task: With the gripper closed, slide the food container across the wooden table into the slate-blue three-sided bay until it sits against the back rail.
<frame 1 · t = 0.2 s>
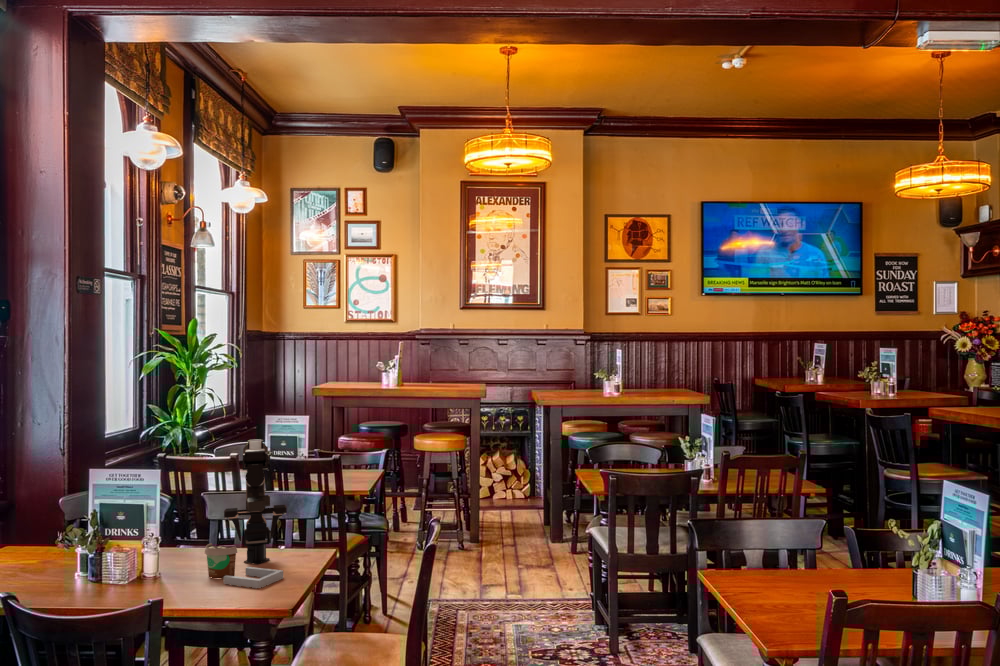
hand: (255, 539, 249), 15 cm above the table, tool pointing down, fingers open, 9 cm apart
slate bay: (251, 581, 258), on the table
food container: (217, 577, 263), on the table
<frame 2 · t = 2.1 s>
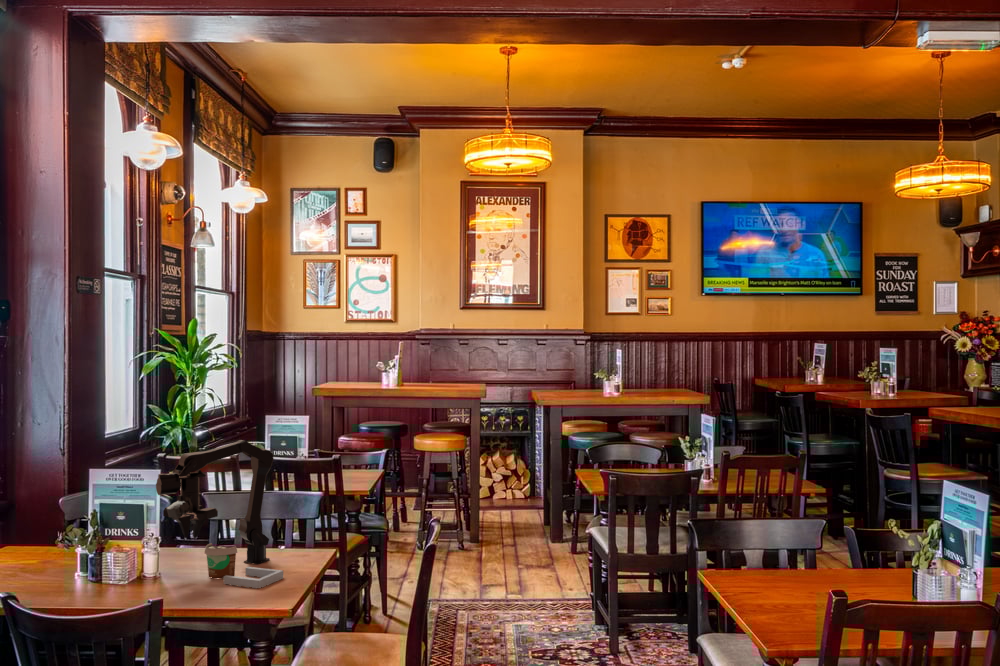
hand: (190, 538, 267), 12 cm above the table, tool pointing down, fingers open, 4 cm apart
nothing on the table moved.
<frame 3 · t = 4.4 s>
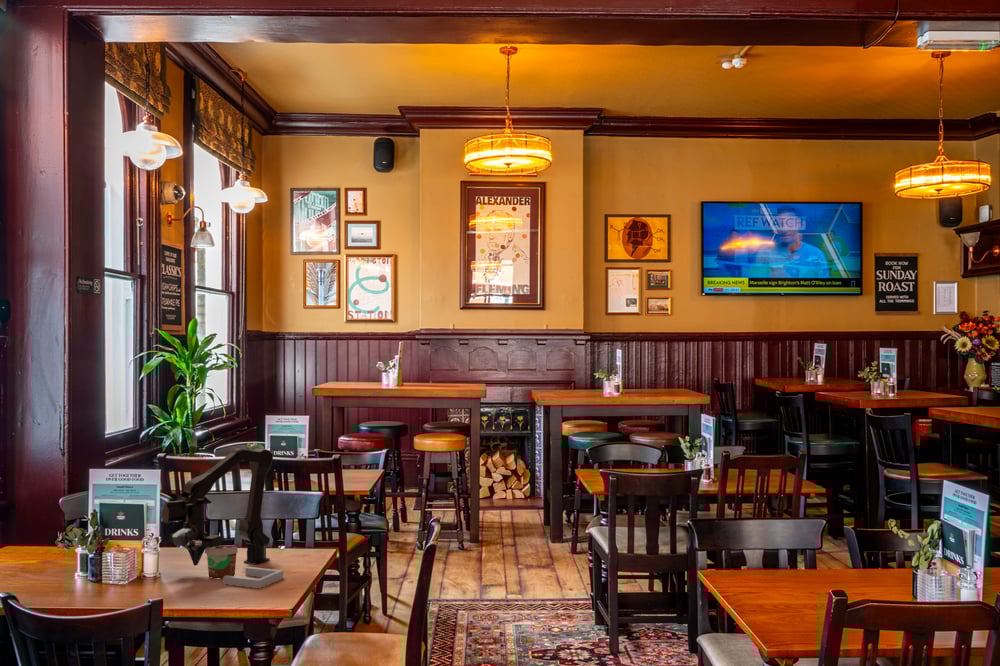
hand: (195, 565, 266), 3 cm above the table, tool pointing down, fingers closed
food container: (217, 577, 263), on the table, touching gripper
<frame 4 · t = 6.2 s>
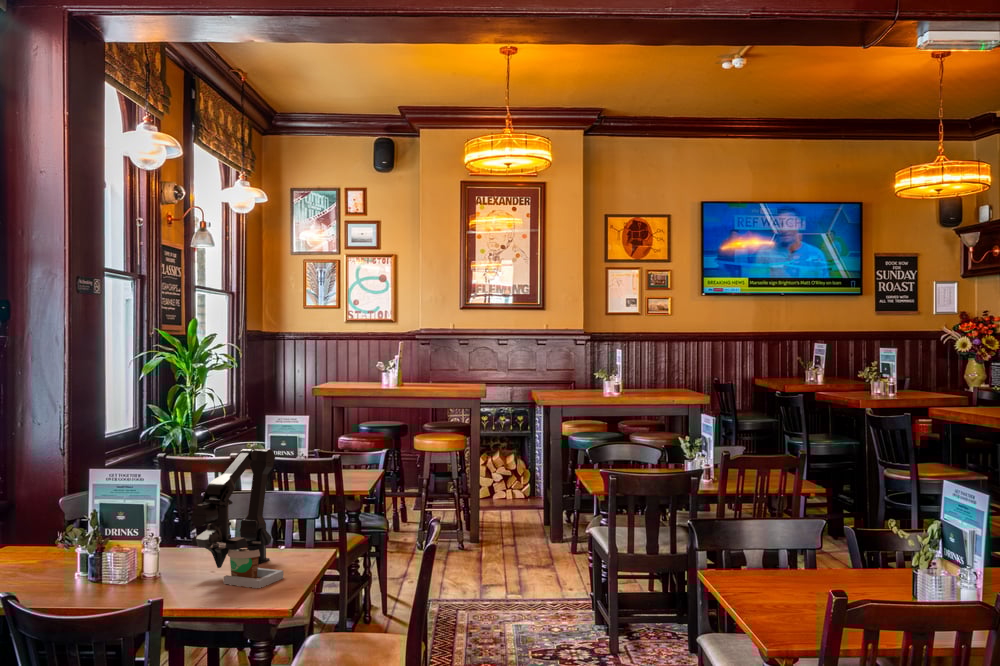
hand: (219, 567, 263), 3 cm above the table, tool pointing down, fingers closed
food container: (239, 580, 259), on the table, touching gripper
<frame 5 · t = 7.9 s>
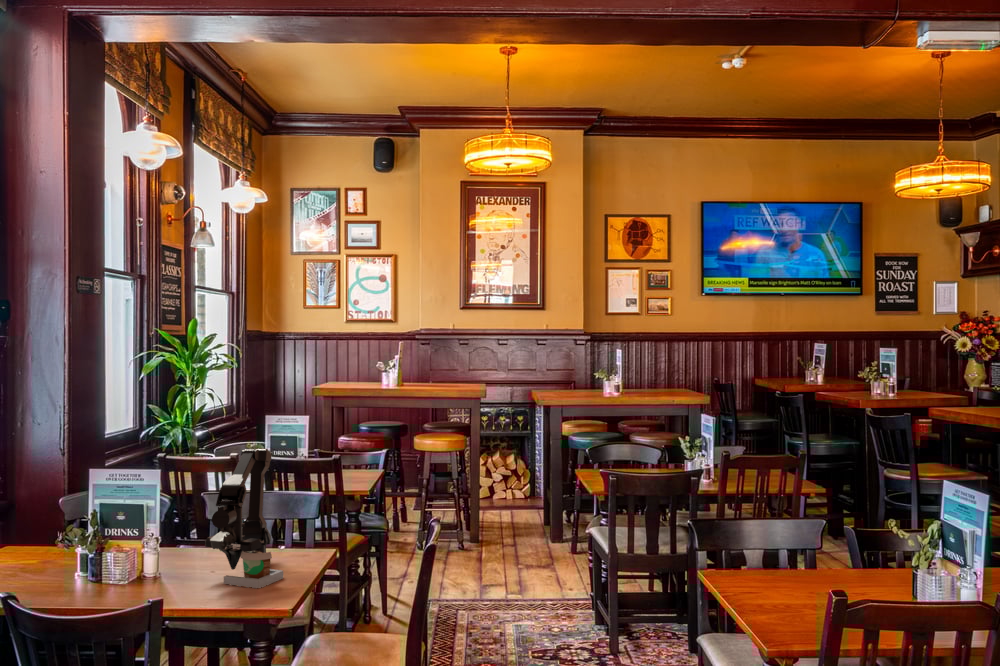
hand: (233, 569, 261), 3 cm above the table, tool pointing down, fingers closed
food container: (252, 582, 257), on the table, touching gripper, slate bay
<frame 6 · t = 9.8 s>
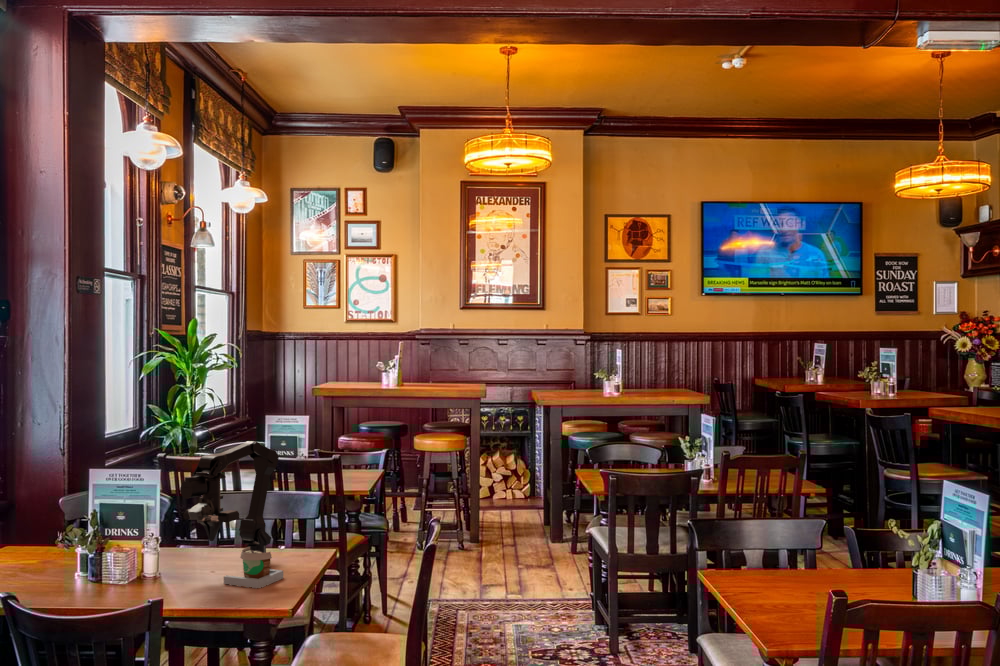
hand: (211, 540, 264), 12 cm above the table, tool pointing down, fingers closed
food container: (252, 582, 257), on the table
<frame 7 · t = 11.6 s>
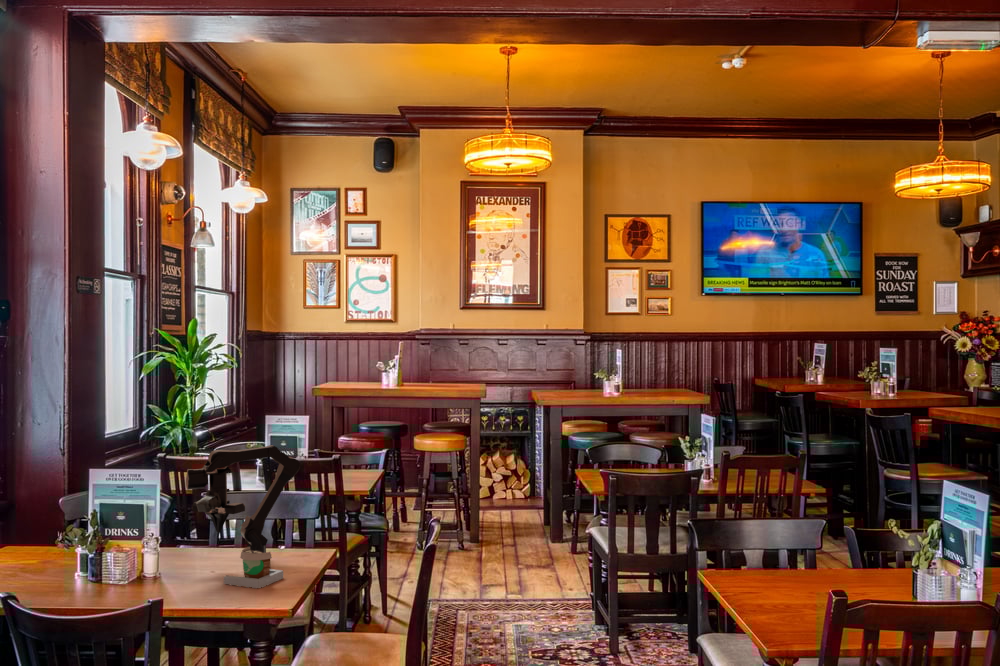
hand: (218, 532, 276), 12 cm above the table, tool pointing down, fingers closed
nothing on the table moved.
at the end: food container 1.8 cm off-centre on the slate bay, point 0.0 cm above the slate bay's base; food container tilted 0°; food container moved 15.2 cm from its start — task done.
